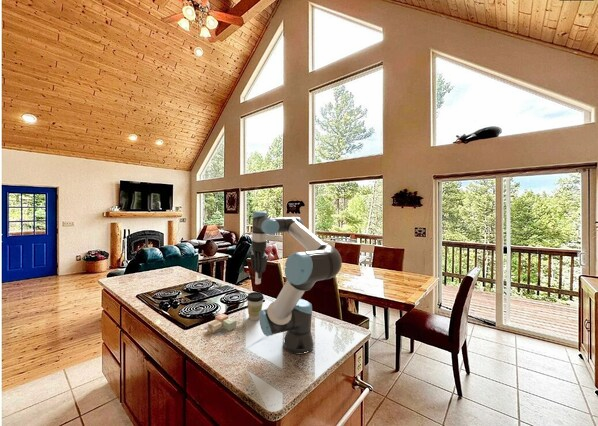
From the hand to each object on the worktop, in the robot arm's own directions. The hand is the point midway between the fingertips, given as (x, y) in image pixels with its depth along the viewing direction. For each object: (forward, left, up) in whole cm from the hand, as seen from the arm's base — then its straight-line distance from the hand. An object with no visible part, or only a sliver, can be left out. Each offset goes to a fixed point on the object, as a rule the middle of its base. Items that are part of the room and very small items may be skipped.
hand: (257, 283), depth 153 cm
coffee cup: (+9, -7, -27) cm, 29 cm away
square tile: (+15, +13, -26) cm, 33 cm away
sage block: (+11, +9, -25) cm, 29 cm away
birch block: (+15, +16, -25) cm, 34 cm away
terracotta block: (+18, +9, -25) cm, 33 cm away
